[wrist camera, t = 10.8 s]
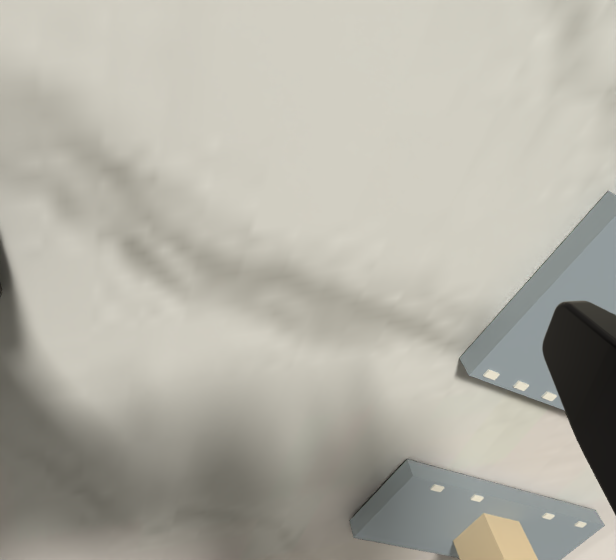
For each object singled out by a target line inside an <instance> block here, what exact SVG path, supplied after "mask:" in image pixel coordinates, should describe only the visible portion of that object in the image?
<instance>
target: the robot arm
mask: <svg viewBox="0 0 616 560" xmlns="http://www.w3.org/2000/svg"><path fill="white" fill-rule="evenodd" d="M1 295H2V287H1V284H0V297H1ZM542 351H543V356H544V359H545V362H546V364H547V367H548V369H549V372H550V374H551V377H552V380H553V382H554V385H555V387H556V390H557V392H558V395H559V397H560V400H561V402H562V405H563V407H564V410H565V412H566V415H567V417H568V420H569V422H570V425H571V427H572V430H573V432H574V434H575V437H576V439H577V441H578V443H579V445H580V447H581V449H582V451H583V454H584V456H585V457H586V459H587V461H588V463H589V465H590V467H591V469H592V471H593V473H594V475H595V477H596V479H597V480H598V482H599V484H600V486H601V488H602V490H603V492H604V494H605V496H606V498H607V500H608V502H609V503H610V505H611V507H612V509H613V511H614V513H615V515H616V315H615V314H613V313H611V312H609V311H607V310H605V309H603V308H601V307H599V306H597V305H595V304H593V303H591V302H588V301H564V302H562V303H560V304H559V305H558V306H557V307H556V308H555V311H554V313H553V316H552V318H551V321H550V324H549V326H548V329H547V332H546V334H545V337H544V340H543V345H542Z"/></svg>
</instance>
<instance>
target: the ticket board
mask: <svg viewBox="0 0 616 560" xmlns="http://www.w3.org/2000/svg"><path fill="white" fill-rule="evenodd" d="M564 301H588V302H591V303H593V304H595V305H597V306H599V307H601V308H603V309H605V310H607V311H609V312H611V313H613V314H615V315H616V195H615V194H613V193H611V192H610V191H608V192H607V193H606V194H605V195H604V196H603V197H602V199H601V200H600V201H599V202H598V203H597V204H596V205H595V206H594V208H593V209H592V210H591V211H590V212H589V213H588V214H587V215H586V217H585V218H584V219H583V220H582V221H581V222H580V223H579V224H578V226H577V227H576V228H575V229H574V230H573V231H572V232H571V233H570V235H569V236H568V237H567V238H566V239H565V240H564V241H563V242H562V244H561V245H560V246H559V247H558V248H557V249H556V250H555V251H554V253H553V254H552V255H551V256H550V257H549V258H548V259H547V260H546V262H545V263H544V264H543V265H542V266H541V267H540V268H539V269H538V271H537V272H536V273H535V274H534V275H533V276H532V277H531V278H530V280H529V281H528V282H527V283H526V284H525V285H524V286H523V287H522V289H521V290H520V291H519V292H518V293H517V294H516V295H515V296H514V298H513V299H512V300H511V301H510V302H509V303H508V304H507V305H506V307H505V308H504V309H503V310H502V311H501V312H500V313H499V314H498V316H497V317H496V318H495V319H494V320H493V321H492V322H491V323H490V325H489V326H488V327H487V328H486V329H485V330H484V331H483V332H482V333H481V335H480V336H479V337H478V338H477V339H476V340H475V341H474V342H473V344H472V345H471V346H470V347H469V348H468V349H467V350H466V351H465V353H464V354H463V355H462V356H461V357H460V360H461V362H462V364H463V366H464V367H465V369H466V371H467V373H468V375H469V376H472V377H474V378H477V379H480V380H483V381H485V382H488V383H491V384H493V385H496V386H499V387H502V388H504V389H507V390H510V391H513V392H515V393H518V394H521V395H524V396H526V397H529V398H532V399H535V400H537V401H540V402H543V403H546V404H548V405H551V406H554V407H556V408H559V409H562V410H564V407H563V405H562V402H561V400H560V397H559V395H558V392H557V390H556V387H555V385H554V382H553V380H552V377H551V374H550V372H549V369H548V367H547V364H546V362H545V359H544V356H543V351H542V345H543V340H544V337H545V334H546V332H547V329H548V326H549V324H550V321H551V318H552V316H553V313H554V311H555V308H556V307H557V306H558V305H559V304H560V303H562V302H564Z"/></svg>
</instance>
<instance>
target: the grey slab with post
mask: <svg viewBox="0 0 616 560" xmlns="http://www.w3.org/2000/svg"><path fill="white" fill-rule="evenodd" d="M350 524H351V529H352V533H353V537H354V538H358V539H363V540H368V541H373V542H378V543H384V544H389V545H394V546H399V547H405V548H410V549H415V550H420V551H425V552H431V553H436V554H441V555H446V556H451V557H457V558H460V560H561V559H562V558H564V557H565V556H566V555H567V554H569V553H570V552H571V551H573V550H574V549H575V548H576V547H578V546H579V545H580V544H582V543H583V542H584V541H585V540H587V539H588V538H589V537H591V536H592V535H593V534H594V533H596V532H597V531H598V530H600V529H601V528H602V527H603V526H605V525H604V523H603V521H602V520H601V518H600V517H599V515H598V513H597V512H596V510H593V509H589V508H585V507H582V506H578V505H574V504H571V503H567V502H563V501H560V500H556V499H552V498H549V497H545V496H541V495H537V494H534V493H530V492H526V491H523V490H519V489H515V488H512V487H508V486H504V485H501V484H497V483H493V482H489V481H486V480H482V479H478V478H475V477H471V476H467V475H464V474H460V473H456V472H453V471H449V470H445V469H441V468H438V467H434V466H430V465H427V464H423V463H419V462H416V461H412V460H408V459H407V460H406V461H405V462H404V463H403V464H402V465H401V466H400V467H399V468H398V470H397V471H396V472H395V473H394V474H393V475H392V476H391V477H390V478H389V479H388V480H387V481H386V482H385V483H384V484H383V486H382V487H381V488H380V489H379V490H378V491H377V492H376V493H375V494H374V495H373V496H372V497H371V498H370V499H369V501H368V502H367V503H366V504H365V505H364V506H363V507H362V508H361V509H360V510H359V511H358V512H357V513H356V514H355V515H354V517H353V518H352V519H351V520H350Z"/></svg>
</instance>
